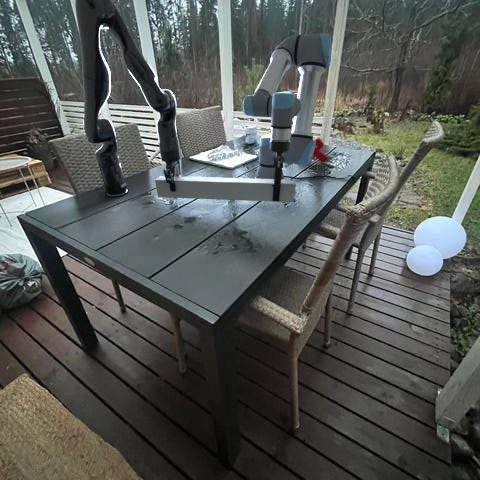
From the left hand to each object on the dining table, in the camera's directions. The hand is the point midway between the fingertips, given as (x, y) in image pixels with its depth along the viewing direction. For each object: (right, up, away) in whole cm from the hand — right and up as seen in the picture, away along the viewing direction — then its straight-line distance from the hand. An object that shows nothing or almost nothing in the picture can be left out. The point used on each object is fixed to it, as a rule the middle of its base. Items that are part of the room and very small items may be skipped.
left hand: (175, 188), depth 115 cm
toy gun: (+72, +27, +56) cm, 95 cm away
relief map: (+17, +32, +64) cm, 73 cm away
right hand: (+42, -4, -3) cm, 43 cm away
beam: (+21, -4, 0) cm, 22 cm away
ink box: (+36, +56, +101) cm, 121 cm away
